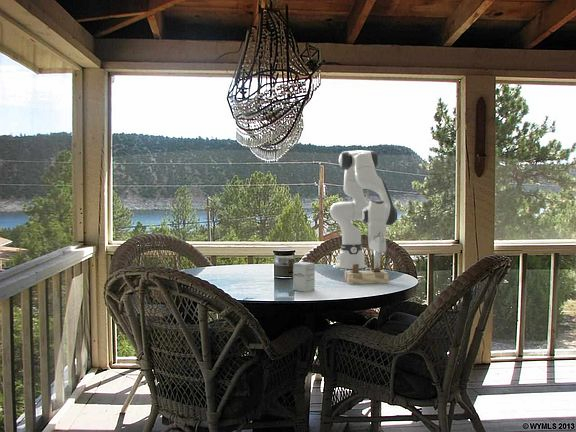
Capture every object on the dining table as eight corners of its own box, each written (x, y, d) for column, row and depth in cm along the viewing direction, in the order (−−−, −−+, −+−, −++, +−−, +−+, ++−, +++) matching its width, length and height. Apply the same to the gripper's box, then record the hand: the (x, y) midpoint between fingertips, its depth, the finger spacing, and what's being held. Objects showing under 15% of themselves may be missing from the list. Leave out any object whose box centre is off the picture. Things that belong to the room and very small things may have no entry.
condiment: (385, 276, 290) (386, 254, 289) (373, 278, 285) (374, 255, 284) (376, 275, 296) (376, 253, 295) (364, 276, 291) (364, 254, 290)
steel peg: (373, 271, 275) (373, 247, 274) (379, 271, 275) (379, 247, 275) (374, 272, 272) (375, 248, 271) (380, 272, 272) (380, 248, 272)
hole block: (344, 280, 277) (344, 271, 276) (383, 280, 279) (383, 270, 279) (348, 283, 268) (348, 273, 268) (388, 283, 270) (388, 273, 270)
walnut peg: (351, 281, 274) (351, 263, 274) (357, 281, 274) (357, 263, 274) (353, 282, 271) (353, 264, 271) (359, 282, 271) (359, 264, 271)
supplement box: (292, 290, 251) (292, 263, 251) (302, 288, 257) (302, 261, 256) (305, 292, 246) (305, 264, 246) (315, 289, 252) (315, 262, 252)
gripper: (389, 233, 263) (389, 262, 263) (377, 230, 283) (377, 257, 284) (376, 233, 262) (376, 262, 263) (366, 230, 282) (365, 257, 283)
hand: (377, 259), depth 273 cm, fingers closed on steel peg, 3 cm apart
